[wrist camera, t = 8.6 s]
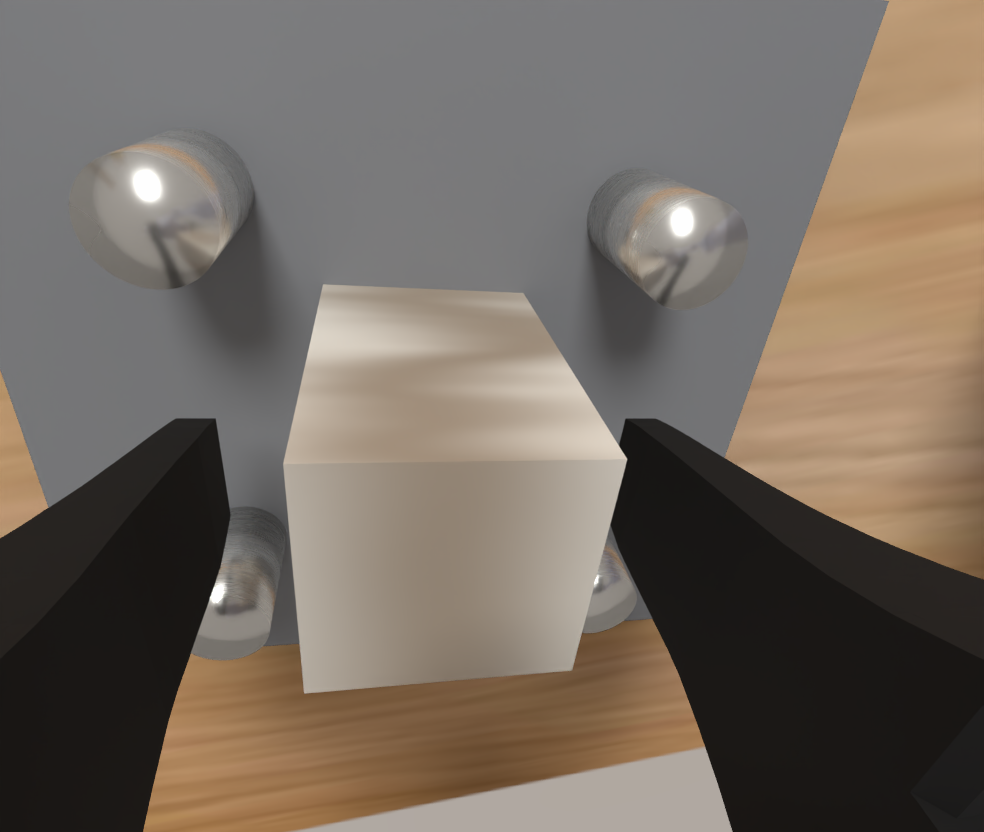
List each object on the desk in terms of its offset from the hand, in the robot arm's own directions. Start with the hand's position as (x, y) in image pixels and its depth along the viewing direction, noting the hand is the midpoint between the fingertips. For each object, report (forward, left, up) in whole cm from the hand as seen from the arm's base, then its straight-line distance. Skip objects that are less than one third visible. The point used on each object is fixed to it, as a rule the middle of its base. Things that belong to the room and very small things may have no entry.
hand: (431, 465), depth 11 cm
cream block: (0, 0, -3) cm, 3 cm away
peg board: (0, 0, -4) cm, 4 cm away
